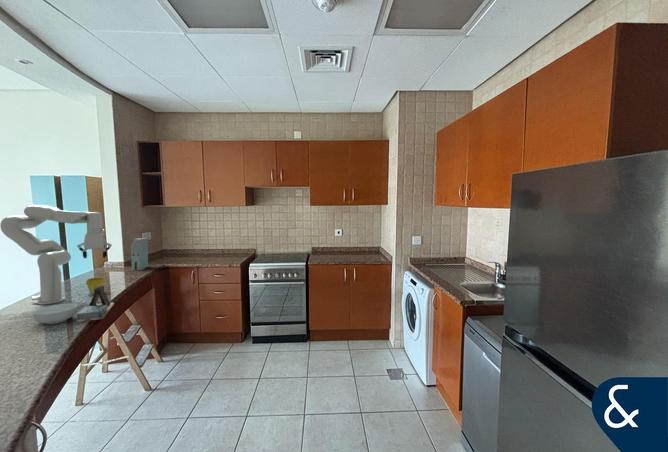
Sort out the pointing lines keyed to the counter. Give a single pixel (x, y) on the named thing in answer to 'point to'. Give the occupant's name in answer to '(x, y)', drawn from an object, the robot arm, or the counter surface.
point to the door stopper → (100, 293)
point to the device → (139, 253)
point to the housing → (92, 312)
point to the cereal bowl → (55, 313)
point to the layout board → (98, 317)
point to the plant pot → (94, 283)
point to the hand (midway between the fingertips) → (95, 257)
